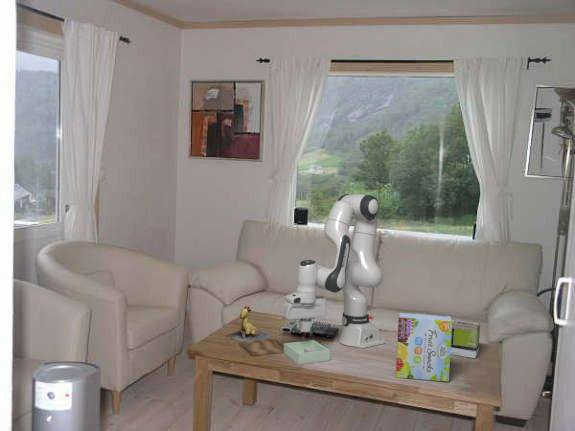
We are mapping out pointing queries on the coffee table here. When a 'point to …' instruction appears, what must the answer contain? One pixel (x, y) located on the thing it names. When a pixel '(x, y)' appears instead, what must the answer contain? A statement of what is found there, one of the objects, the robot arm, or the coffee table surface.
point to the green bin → (299, 357)
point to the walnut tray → (262, 347)
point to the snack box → (423, 347)
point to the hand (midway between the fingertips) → (304, 327)
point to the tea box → (465, 338)
